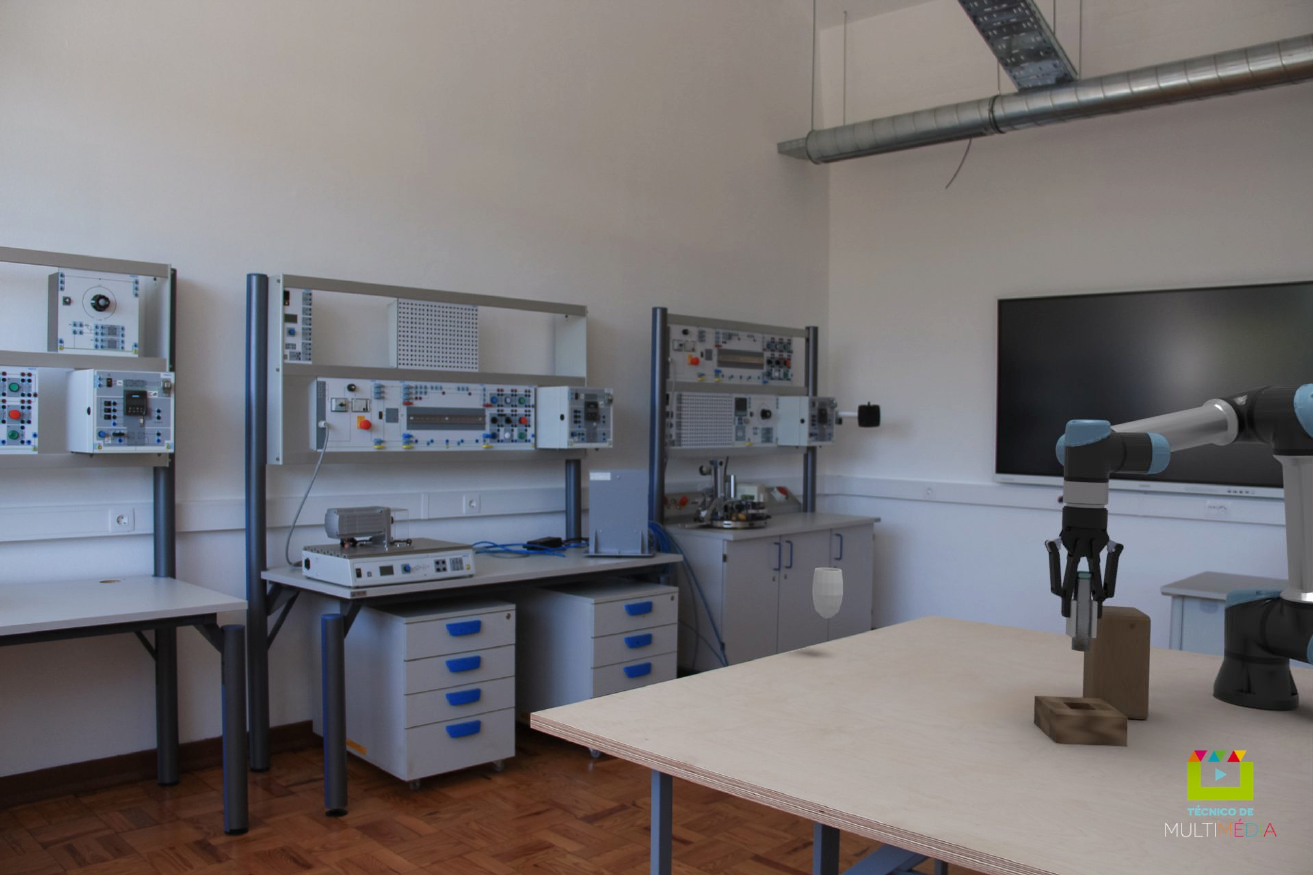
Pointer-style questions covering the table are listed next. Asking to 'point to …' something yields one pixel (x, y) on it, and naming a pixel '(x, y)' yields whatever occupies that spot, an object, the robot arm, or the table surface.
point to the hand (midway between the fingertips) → (1080, 635)
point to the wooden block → (1120, 661)
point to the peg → (1082, 611)
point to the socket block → (1080, 720)
